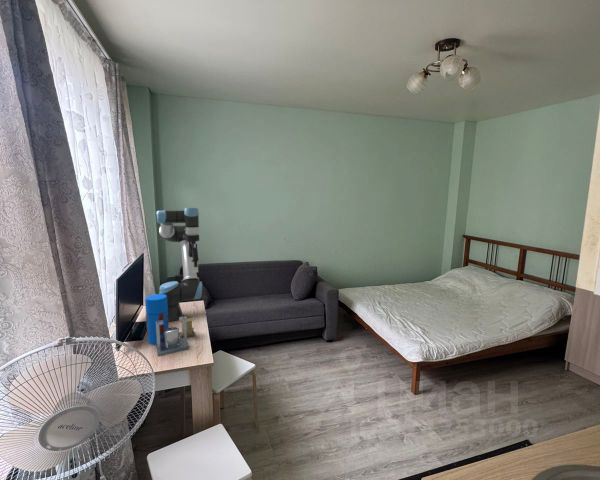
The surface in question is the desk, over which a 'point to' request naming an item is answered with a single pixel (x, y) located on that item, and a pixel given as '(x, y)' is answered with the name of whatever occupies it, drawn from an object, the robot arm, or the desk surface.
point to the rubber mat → (189, 335)
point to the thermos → (156, 316)
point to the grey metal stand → (172, 339)
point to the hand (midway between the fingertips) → (193, 270)
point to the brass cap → (189, 327)
